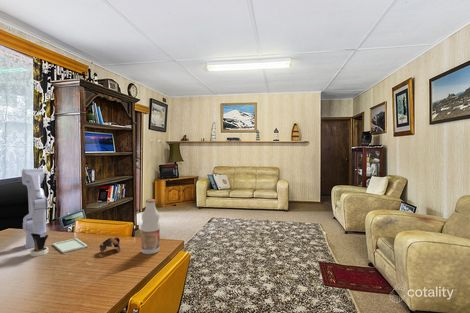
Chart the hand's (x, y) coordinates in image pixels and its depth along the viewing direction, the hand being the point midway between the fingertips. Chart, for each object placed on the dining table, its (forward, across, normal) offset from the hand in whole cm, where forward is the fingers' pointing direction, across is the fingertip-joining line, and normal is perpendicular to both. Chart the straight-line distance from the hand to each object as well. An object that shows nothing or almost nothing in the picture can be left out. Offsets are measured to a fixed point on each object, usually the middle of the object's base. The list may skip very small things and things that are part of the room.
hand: (39, 247), depth 134 cm
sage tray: (+3, 0, +14) cm, 14 cm away
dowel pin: (+3, 0, 0) cm, 3 cm away
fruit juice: (+4, +39, +41) cm, 57 cm away
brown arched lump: (+4, +23, +27) cm, 36 cm away
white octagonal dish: (+3, 0, 0) cm, 3 cm away
